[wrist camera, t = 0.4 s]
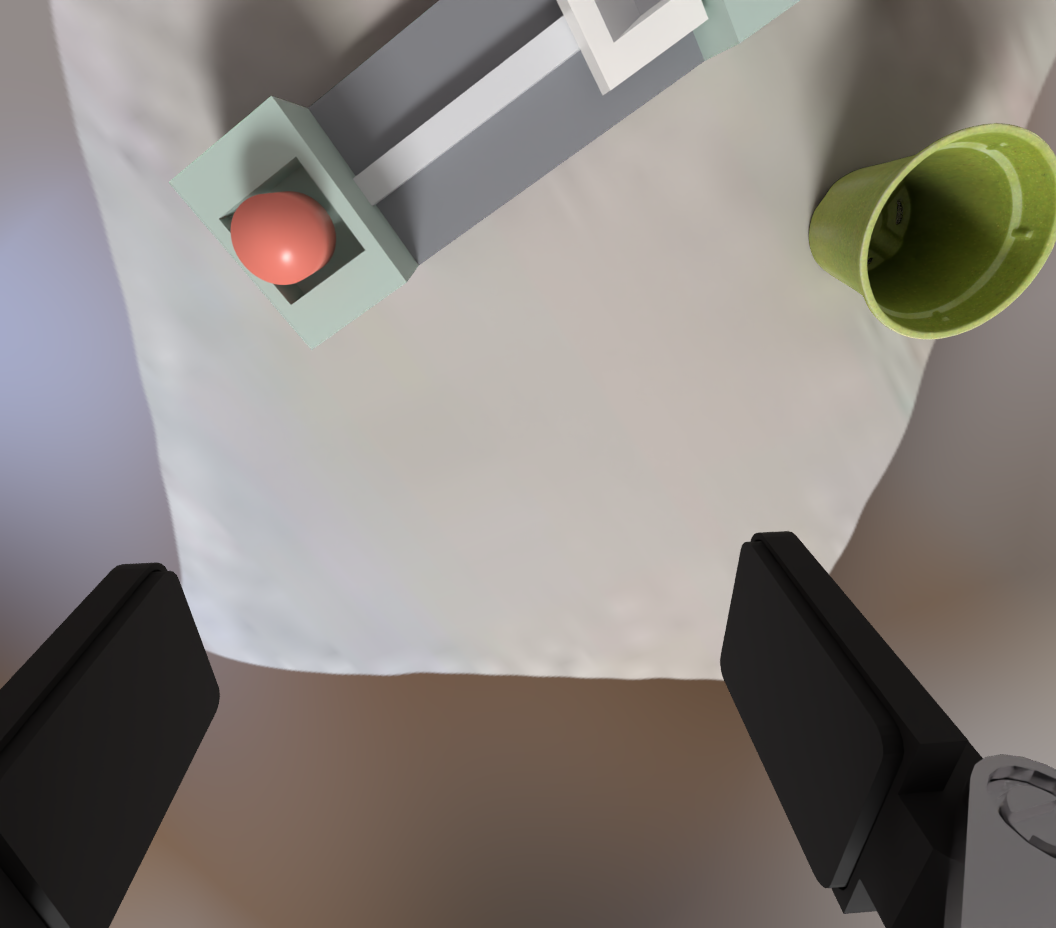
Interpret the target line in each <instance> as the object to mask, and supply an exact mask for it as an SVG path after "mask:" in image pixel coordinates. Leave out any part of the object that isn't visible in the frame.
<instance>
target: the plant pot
mask: <svg viewBox="0 0 1056 928" xmlns="http://www.w3.org/2000/svg"><path fill="white" fill-rule="evenodd" d="M898 200H899V201H900V202H901V205H902V208H903V215H902V220H901V222H900V224H896V217H897V206H898V204H897V201H898ZM1055 241H1056V155H1055V154H1054V152H1053V151H1052V150H1051V148H1050V146H1049V145H1048V144H1047V143H1046V142H1045V141H1044V140H1043V139H1041V138H1040V137H1039V136H1038V135H1036V134H1035V133H1033V132H1031V131H1029V130H1027V129H1024V128H1021V127H1018V126H1015V125H1010V124H999V123H994V124H983V125H978V126H973V127H969V128H965V129H962V130H959V131H956V132H954V133H951V134H949V135H947V136H945V137H943V138H941V139H939V140H937V141H935V142H934V143H932V144H931V145H929V146H928V147H926V148H925V149H923V150H922V151H920V152H919V153H918V154H916V155H913V156H909V157H906V158H902V159H898V160H894V161H891V162H887V163H883V164H879V165H874V166H870V167H866V168H862V169H858V170H856V171H853V172H851V173H849V174H847V175H846V176H844V177H842V178H841V179H839V180H838V181H837V182H836V183H835V184H834V185H833V186H832V187H831V188H830V190H829V191H828V193H827V194H826V196H825V197H824V198H823V200H822V201H821V202H820V204H819V205H818V207H817V208H816V209H815V211H814V214H813V216H812V219H811V224H810V229H809V244H810V249H811V252H812V255H813V257H814V259H815V261H816V262H817V263H818V264H819V266H820V267H821V268H822V269H824V270H825V271H826V272H828V273H829V274H830V275H832V276H834V277H835V278H837V279H838V280H840V281H841V282H843V283H845V284H846V285H848V286H849V287H851V288H852V289H854V290H855V291H857V292H858V293H860V294H861V295H863V297H864V299H865V301H866V304H867V305H868V307H869V309H870V311H871V312H872V313H873V315H874V316H875V317H876V318H877V319H878V320H879V321H880V322H881V323H882V324H883V325H885V326H886V327H888V328H889V329H891V330H893V331H895V332H897V333H899V334H901V335H904V336H907V337H911V338H917V339H939V338H946V337H949V336H953V335H957V334H960V333H963V332H966V331H969V330H971V329H973V328H975V327H977V326H979V325H981V324H983V323H985V322H986V321H988V320H990V319H991V318H993V317H994V316H996V315H997V314H998V313H999V312H1001V311H1003V310H1004V309H1005V308H1006V307H1008V306H1009V305H1010V304H1011V303H1012V302H1013V301H1014V300H1015V299H1016V298H1017V297H1019V296H1020V294H1021V293H1022V292H1023V291H1024V290H1025V289H1026V288H1027V287H1028V286H1029V285H1030V283H1031V282H1032V280H1033V279H1034V278H1035V277H1036V276H1037V274H1038V272H1039V271H1040V269H1041V268H1042V266H1043V265H1044V263H1045V262H1046V260H1047V258H1048V256H1049V254H1050V253H1051V251H1052V248H1053V246H1054V244H1055ZM869 258H872V260H871V262H870V263H869V264H867V259H869Z"/></svg>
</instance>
